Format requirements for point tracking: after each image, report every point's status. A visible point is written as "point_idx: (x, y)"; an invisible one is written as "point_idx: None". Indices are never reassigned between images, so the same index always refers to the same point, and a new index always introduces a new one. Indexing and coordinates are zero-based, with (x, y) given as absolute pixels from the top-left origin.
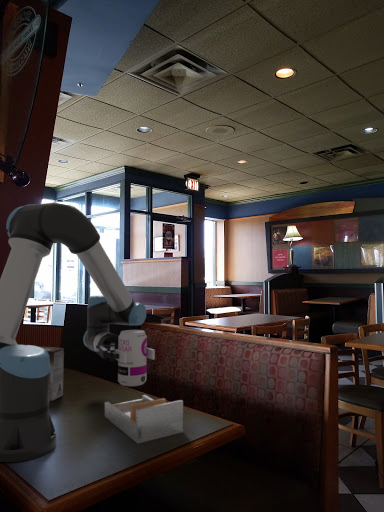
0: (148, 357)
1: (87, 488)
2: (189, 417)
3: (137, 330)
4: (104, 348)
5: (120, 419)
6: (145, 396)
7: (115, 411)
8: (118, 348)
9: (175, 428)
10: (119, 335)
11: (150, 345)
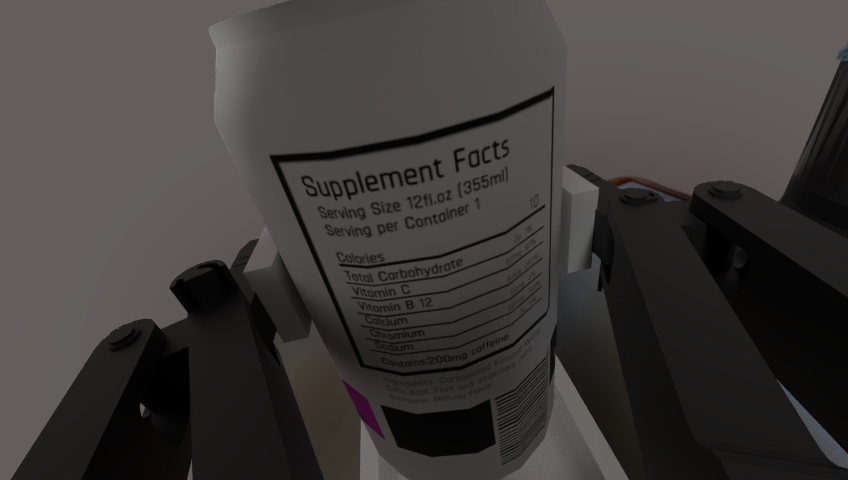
0: None
1: None
2: (292, 383)
3: (230, 31)
4: (836, 274)
5: None
6: None
7: (556, 357)
8: (560, 189)
9: None
10: (553, 20)
11: (114, 332)
